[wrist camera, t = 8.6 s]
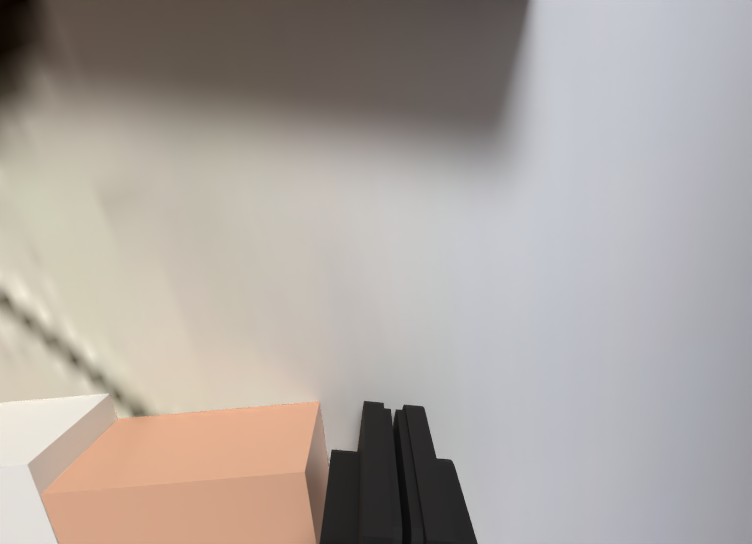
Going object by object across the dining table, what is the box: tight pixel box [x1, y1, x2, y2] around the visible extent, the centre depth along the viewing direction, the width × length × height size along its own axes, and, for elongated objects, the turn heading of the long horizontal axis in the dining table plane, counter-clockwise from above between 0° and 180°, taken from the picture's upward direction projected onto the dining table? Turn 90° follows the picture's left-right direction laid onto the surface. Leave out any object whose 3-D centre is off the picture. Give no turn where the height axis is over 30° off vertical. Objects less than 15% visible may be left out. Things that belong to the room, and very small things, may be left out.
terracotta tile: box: [41, 401, 329, 544], centre depth 11 cm, size 6×6×3 cm
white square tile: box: [0, 394, 118, 544], centre depth 10 cm, size 6×6×3 cm
